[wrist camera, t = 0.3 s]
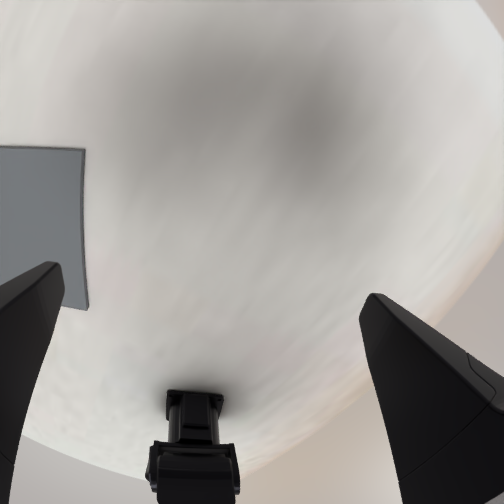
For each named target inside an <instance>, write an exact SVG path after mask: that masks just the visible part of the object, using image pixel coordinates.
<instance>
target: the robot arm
mask: <svg viewBox="0 0 504 504" xmlns="http://www.w3.org/2000/svg"><path fill="white" fill-rule="evenodd" d="M64 294H65V284H64V279H63V273H62V268H61V265H60V263H58V262H53V261H46V262H44V263H42V264H40V265H38V266H36V267H34V268H32V269H30V270H28V271H26V272H24V273H22V274H20V275H19V276H17V277H15V278H13V279H11V280H9V281H7V282H6V283H4V284H2V285H0V504H9V496H10V489H11V482H12V477H13V471H14V464H15V460H16V455H17V450H18V445H19V441H20V437H21V433H22V429H23V425H24V421H25V417H26V414H27V410H28V406H29V403H30V400H31V396H32V393H33V390H34V387H35V383H36V380H37V377H38V374H39V371H40V368H41V366H42V363H43V360H44V357H45V354H46V352H47V349H48V346H49V344H50V341H51V338H52V335H53V331H54V328H55V324H56V321H57V317H58V314H59V310H60V307H61V304H62V301H63V297H64ZM359 323H360V328H361V332H362V337H363V342H364V347H365V352H366V357H367V362H368V366H369V369H370V373H371V376H372V380H373V383H374V386H375V390H376V393H377V397H378V401H379V404H380V408H381V412H382V415H383V419H384V423H385V427H386V430H387V435H388V439H389V443H390V447H391V450H392V455H393V459H394V464H395V468H396V473H397V477H398V481H399V482H398V483H399V488H400V492H401V497H402V502H403V504H504V377H502V376H501V375H499V374H498V373H496V372H495V371H493V370H492V369H490V368H489V367H487V366H486V365H484V364H483V363H482V362H480V361H478V360H477V359H475V358H474V357H473V356H472V355H470V354H469V353H466V352H465V350H463V349H462V348H460V347H459V346H458V345H456V344H455V343H453V342H452V341H451V340H449V339H448V338H446V337H445V336H443V335H442V334H441V333H439V332H438V331H436V330H435V329H434V328H432V327H431V326H429V325H428V324H426V323H425V322H423V321H422V320H421V319H419V318H418V317H416V316H415V315H413V314H412V313H410V312H409V311H407V310H406V309H404V308H403V307H402V306H400V305H399V304H397V303H396V302H394V301H393V300H391V299H390V298H388V297H387V296H385V295H384V294H381V293H371V294H369V296H368V297H367V299H366V302H365V304H364V306H363V308H362V310H361V312H360V316H359ZM223 401H224V396H222V395H215V394H201V393H189V392H179V391H168V392H167V400H166V420H168V421H169V433H168V442H159V441H156V440H154V445H153V446H151V447H150V452H149V461H148V465H147V469H146V473H145V478H146V479H147V480H148V481H149V482H150V486H151V489H152V492H155V493H157V501H158V503H159V504H235V495H239V493H240V475H239V468H238V463H237V457H236V452H235V447H234V443H229V444H220V441H219V427H218V419H219V416H220V412H221V409H222V405H223Z"/></svg>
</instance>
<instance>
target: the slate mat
mask: <svg viewBox="0 0 504 504" xmlns="http://www.w3.org/2000/svg"><path fill="white" fill-rule="evenodd" d="M84 155H85V150H78V149H62V148H41V147H0V285H2V284H4V283H6V282H7V281H9V280H11V279H13V278H15V277H17V276H19V275H20V274H22V273H24V272H26V271H28V270H30V269H32V268H34V267H36V266H38V265H40V264H42V263H44V262H46V261H53V262H58V263H60V265H61V268H62V273H63V279H64V284H65V294H64V297H63V301H62V304H61V306H64V307H69V308H74V309H79V310H85V311H87V310H88V307H89V304H88V295H87V285H86V273H85V259H84V240H83V174H84Z"/></svg>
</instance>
